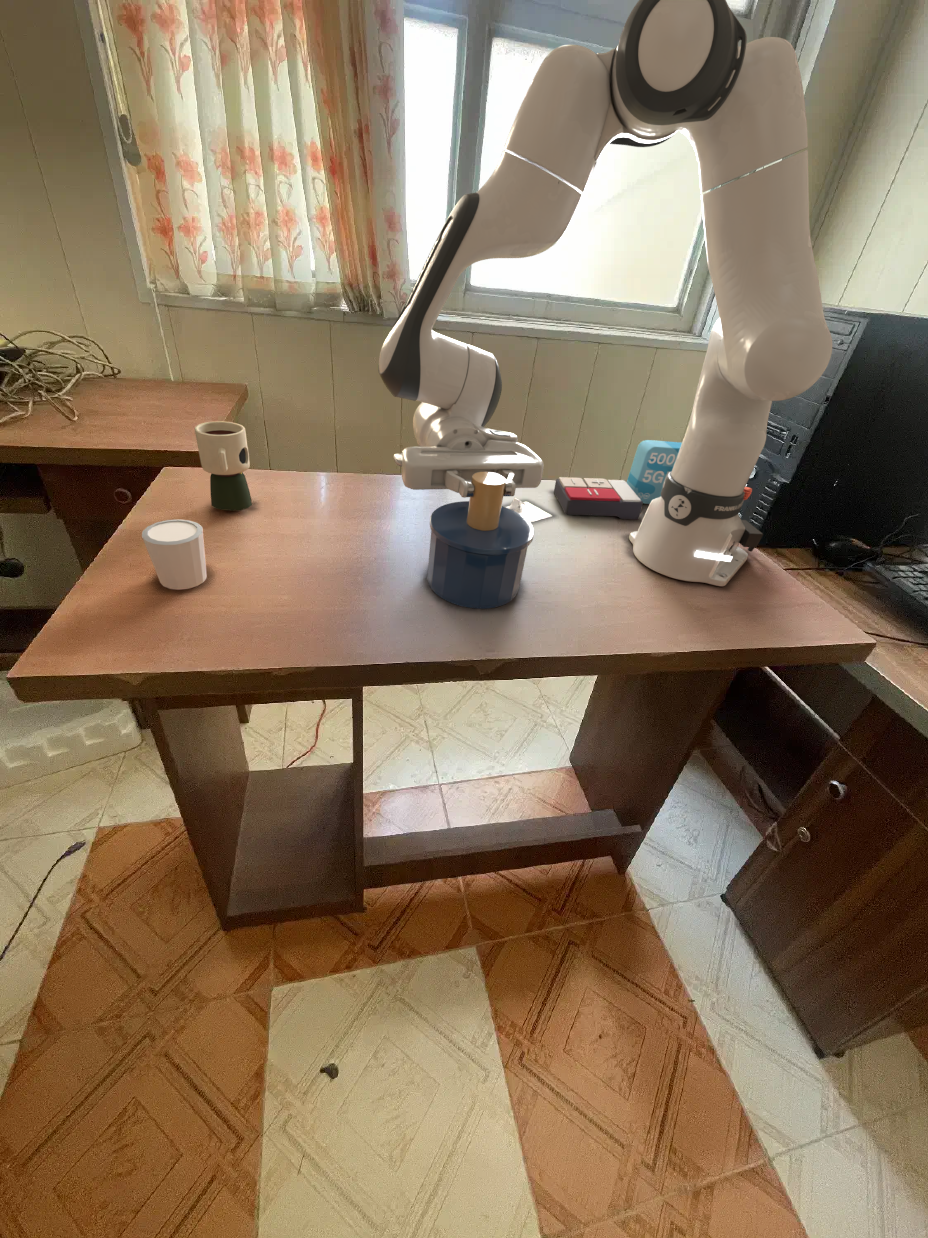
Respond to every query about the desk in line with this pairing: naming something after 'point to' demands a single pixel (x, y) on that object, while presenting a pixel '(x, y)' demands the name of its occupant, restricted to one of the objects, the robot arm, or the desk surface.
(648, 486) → the data package
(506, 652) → the desk surface
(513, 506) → the adhesive hook
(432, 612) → the desk surface
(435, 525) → the lid
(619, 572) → the desk surface
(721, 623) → the desk surface
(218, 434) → the character mug
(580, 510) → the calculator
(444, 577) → the pot
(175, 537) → the white tapered cup
